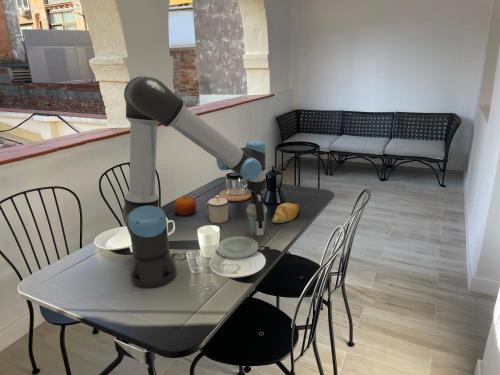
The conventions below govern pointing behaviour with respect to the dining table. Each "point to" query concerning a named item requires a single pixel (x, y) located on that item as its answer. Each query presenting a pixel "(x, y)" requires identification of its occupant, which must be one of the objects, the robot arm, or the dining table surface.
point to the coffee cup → (252, 216)
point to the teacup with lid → (217, 209)
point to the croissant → (285, 212)
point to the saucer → (237, 247)
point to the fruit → (185, 205)
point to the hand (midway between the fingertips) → (257, 227)
